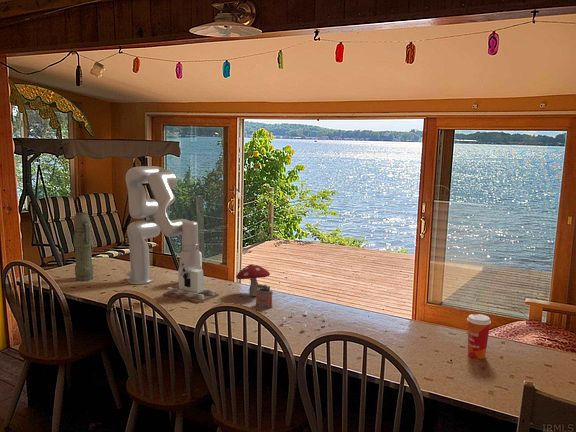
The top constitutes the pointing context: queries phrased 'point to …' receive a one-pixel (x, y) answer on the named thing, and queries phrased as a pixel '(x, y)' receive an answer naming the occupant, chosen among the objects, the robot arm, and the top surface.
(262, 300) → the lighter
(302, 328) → the game piece set
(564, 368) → the top surface
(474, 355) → the paper cup
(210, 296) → the track board
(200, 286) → the door panel
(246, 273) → the decorative mushroom
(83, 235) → the moai statue
